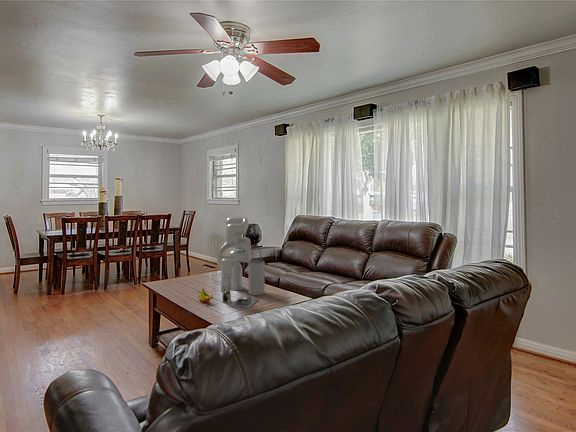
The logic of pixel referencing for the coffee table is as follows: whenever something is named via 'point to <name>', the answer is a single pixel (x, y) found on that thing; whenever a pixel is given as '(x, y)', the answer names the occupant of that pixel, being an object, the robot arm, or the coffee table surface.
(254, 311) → the coffee table surface
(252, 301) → the carrier plate
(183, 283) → the coffee table surface
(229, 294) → the block
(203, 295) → the yellow toy car
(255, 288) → the cylinder vase
